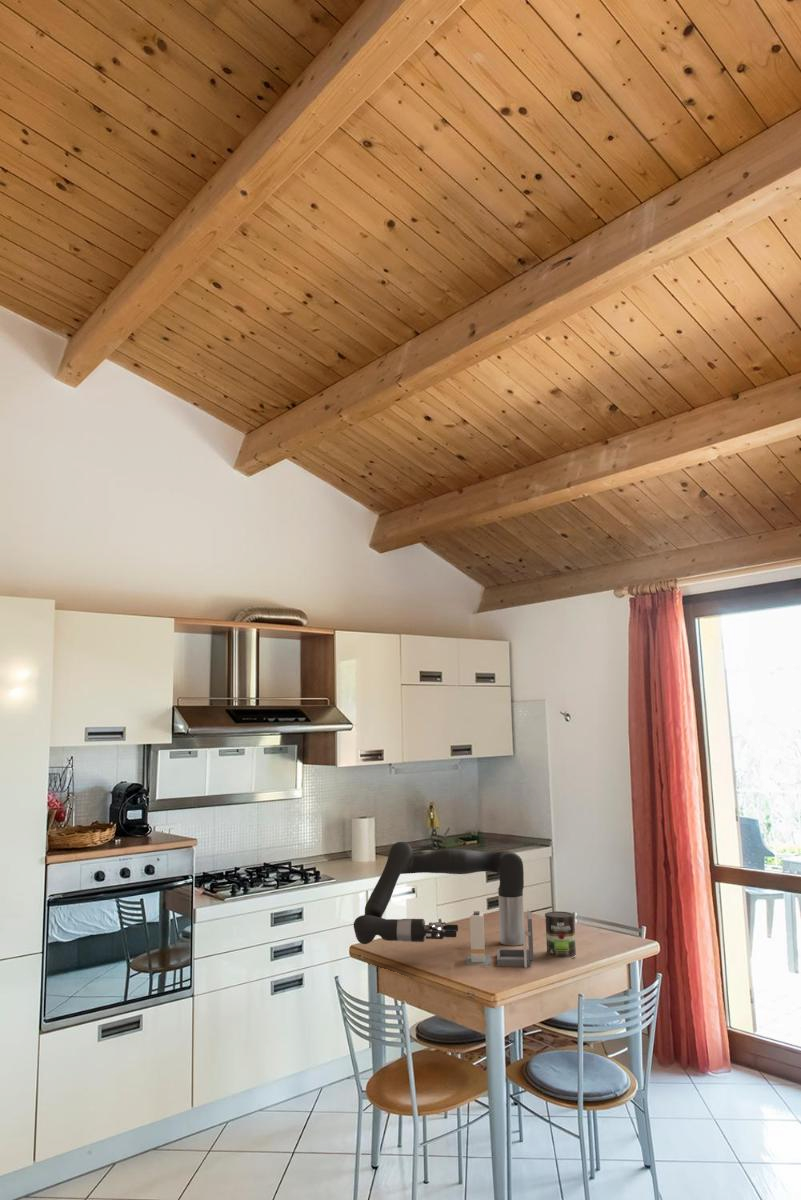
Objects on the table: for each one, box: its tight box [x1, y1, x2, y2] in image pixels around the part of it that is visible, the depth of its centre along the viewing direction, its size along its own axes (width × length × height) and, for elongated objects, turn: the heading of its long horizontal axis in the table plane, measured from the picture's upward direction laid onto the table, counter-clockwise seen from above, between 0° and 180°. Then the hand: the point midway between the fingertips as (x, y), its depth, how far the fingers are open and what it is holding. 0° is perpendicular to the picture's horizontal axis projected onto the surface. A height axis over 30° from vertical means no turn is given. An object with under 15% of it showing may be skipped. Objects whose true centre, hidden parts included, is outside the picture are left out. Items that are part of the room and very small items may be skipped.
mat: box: [465, 955, 491, 966], centre depth 281 cm, size 12×8×1 cm, turn 173°
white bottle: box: [469, 910, 486, 962], centre depth 283 cm, size 5×4×16 cm
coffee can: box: [544, 911, 577, 959], centre depth 290 cm, size 10×10×14 cm
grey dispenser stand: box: [496, 910, 535, 969], centre depth 280 cm, size 15×12×16 cm
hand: (457, 930), depth 284 cm, fingers open, 8 cm apart
